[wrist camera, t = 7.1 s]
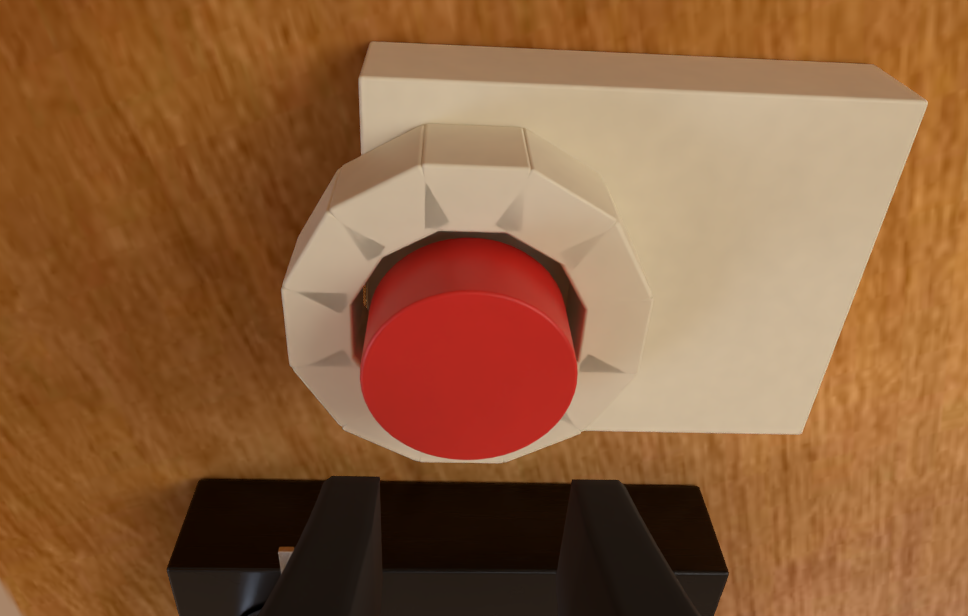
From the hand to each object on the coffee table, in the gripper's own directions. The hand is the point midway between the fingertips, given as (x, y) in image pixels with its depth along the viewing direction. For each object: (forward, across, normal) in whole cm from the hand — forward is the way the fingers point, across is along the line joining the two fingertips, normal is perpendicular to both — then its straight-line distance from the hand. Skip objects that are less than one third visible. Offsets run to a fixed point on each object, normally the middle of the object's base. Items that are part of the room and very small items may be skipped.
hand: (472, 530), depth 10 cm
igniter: (+8, -3, 0) cm, 9 cm away
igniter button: (+5, 0, 0) cm, 5 cm away
